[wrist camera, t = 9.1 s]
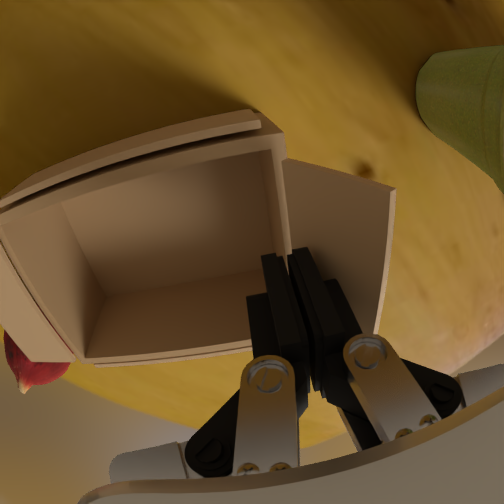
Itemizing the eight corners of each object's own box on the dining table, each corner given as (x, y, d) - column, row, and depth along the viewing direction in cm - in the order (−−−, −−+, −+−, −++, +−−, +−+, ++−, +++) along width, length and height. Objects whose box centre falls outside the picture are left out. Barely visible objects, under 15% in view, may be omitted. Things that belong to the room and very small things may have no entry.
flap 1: (-44, 254, 10) (-41, 251, 10) (31, 361, 14) (32, 358, 14) (-7, 239, 9) (-4, 235, 10) (74, 362, 14) (76, 358, 14)
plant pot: (486, 39, 11) (582, 57, 4) (489, 158, 17) (571, 210, 9) (381, 20, 12) (495, 7, 4) (396, 169, 17) (489, 241, 10)
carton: (259, 102, 14) (281, 116, 9) (283, 273, 20) (304, 341, 15) (43, 164, 14) (-15, 208, 9) (108, 304, 20) (87, 369, 15)
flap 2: (362, 382, 11) (366, 378, 11) (390, 191, 6) (396, 188, 7) (299, 334, 14) (304, 331, 14) (281, 160, 9) (287, 158, 9)
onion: (14, 287, 19) (-28, 361, 12) (61, 276, 19) (17, 362, 12) (49, 336, 22) (22, 408, 15) (96, 330, 22) (72, 414, 15)
